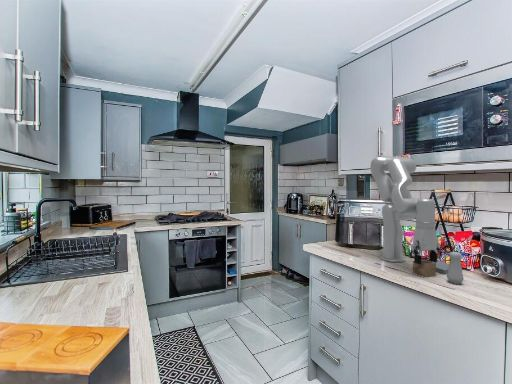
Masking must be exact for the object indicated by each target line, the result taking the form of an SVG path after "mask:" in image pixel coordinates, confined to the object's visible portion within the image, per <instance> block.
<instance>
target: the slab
mask: <svg viewBox="0 0 512 384" xmlns="http://www.w3.org/2000/svg"><path fill="white" fill-rule="evenodd" d="M433 263H436V273H439V274H442V275H447V272H448V268H449V264H450V263H447V262H444V261H441V260H437V262H433ZM461 268H462V269H463V267H462V266H461Z"/></svg>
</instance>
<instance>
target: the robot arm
mask: <svg viewBox="0 0 512 384" xmlns="http://www.w3.org/2000/svg"><path fill="white" fill-rule="evenodd" d="M369 168H370V173H371V175H372V177H373V180H374V182H375V184H376V187H377V190H378V194H379V197H380V200H381V201H382V202H384V203H386V204H384V205H383V206H382V208H381V216H382V220H383V222H382V224H383V229H382V230H383V234H382V235H383V246H382V248H380V249H379V250H378V252H379V253H380V254H381V255H379V259H380V260H382V261H385V262H389V263H405V262H406V257H404V256H403V236H404V235H403V229H404V228H403V226H402V224H401V223H400V221H410V220H414V219H415V228H414V231H413V237H412V244H410V249H411V252H412V254H413V261H414V263H417V264H421V260H422V253H423V252H429V251H430V252H429V261H430V262H437V261H438V254H439V250H440V247H441V243H440V242H438V237H437V231H436V202H435V200H434V199H431V198H416V197H414V198H413V197H412V194H411V192H410V190H409V188H408V187H409V186H410V185H411V184H412V183H413V178H412V176H411V175H410V174H413V173H414V172H415V171H416V170H417V163H416V161H415V160H414V159H413V158H409V157H403V156H378V157H374V158H372V159H371V161H370V167H369ZM386 172H388V173H389V174H388V173H386Z"/></svg>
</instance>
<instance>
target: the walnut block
mask: <svg viewBox="0 0 512 384" xmlns="http://www.w3.org/2000/svg"><path fill="white" fill-rule="evenodd" d="M414 273H415V274H414ZM436 273H437V272H436V263H433V262H432V261H430V260H429V261H428V260H426V259H421V264H417V263H414V260H412V274H414V275H416V274H417V276H419V275H420V276H419V277H422V276H423V277H422V278H425V277H426V278H431V277H436V276H437V275H436Z"/></svg>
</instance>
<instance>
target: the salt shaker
mask: <svg viewBox="0 0 512 384" xmlns="http://www.w3.org/2000/svg"><path fill="white" fill-rule="evenodd" d="M448 255H449V258H450V261H449V263H448V264H449V268H448V272H447V274H446V277H447V278H446V279H447V280H448V282H449V283H450V284H452V285H453V284H454V285H461V284H462V282H463V281H464V279H465V278H464V274H463V267H462V264H461V263H462V262H461V259H462V258H463V255H462V254H461V253H460V252H458V251H450V252H449V254H448ZM461 267H462V268H461Z"/></svg>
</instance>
